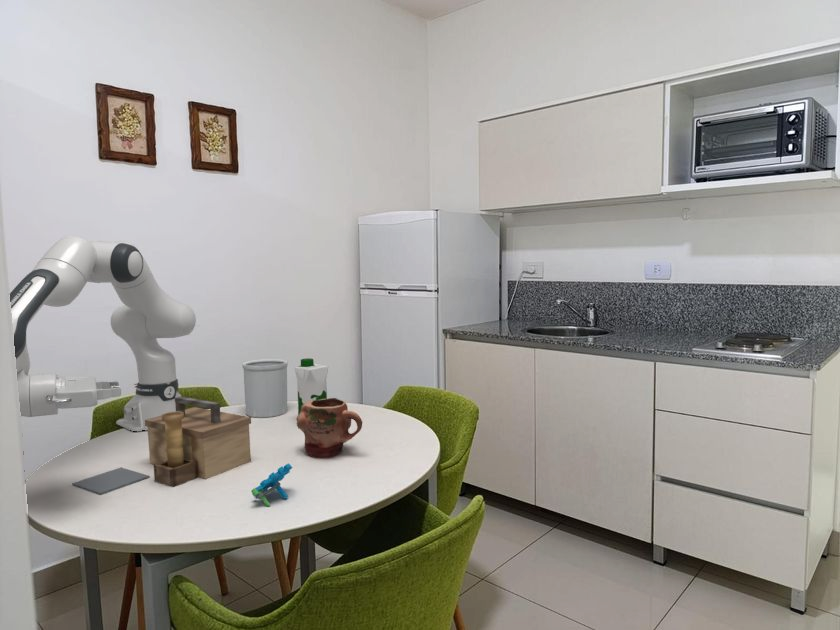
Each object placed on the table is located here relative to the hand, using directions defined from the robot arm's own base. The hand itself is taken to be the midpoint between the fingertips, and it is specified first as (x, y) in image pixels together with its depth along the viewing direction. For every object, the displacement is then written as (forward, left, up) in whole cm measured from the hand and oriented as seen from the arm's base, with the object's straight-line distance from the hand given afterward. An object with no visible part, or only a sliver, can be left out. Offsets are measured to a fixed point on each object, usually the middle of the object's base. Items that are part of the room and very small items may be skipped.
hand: (119, 388), depth 132 cm
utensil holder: (-22, +64, -24) cm, 72 cm away
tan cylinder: (+5, +9, -24) cm, 26 cm away
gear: (+33, +13, -24) cm, 43 cm away
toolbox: (0, +17, -24) cm, 29 cm away
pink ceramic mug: (+25, +42, -24) cm, 54 cm away
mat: (-8, +1, -24) cm, 25 cm away
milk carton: (0, +63, -24) cm, 67 cm away
